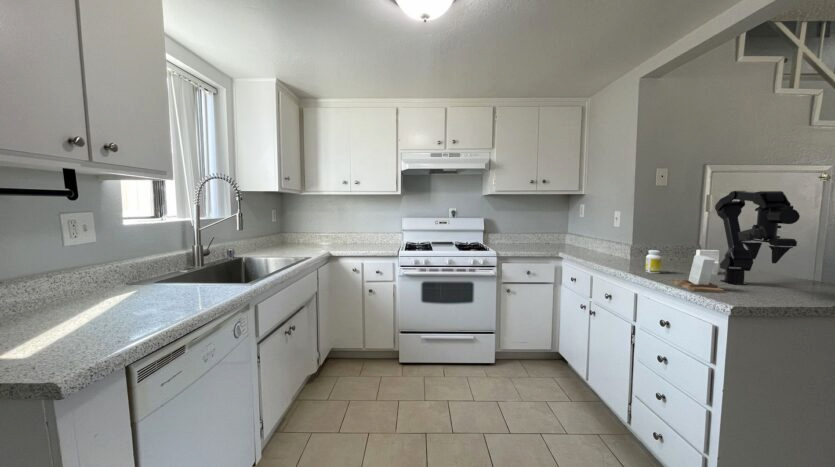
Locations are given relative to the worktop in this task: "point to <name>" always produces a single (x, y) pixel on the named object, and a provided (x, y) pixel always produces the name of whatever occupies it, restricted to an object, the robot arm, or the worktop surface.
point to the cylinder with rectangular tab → (713, 255)
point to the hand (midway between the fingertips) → (763, 261)
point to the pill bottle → (653, 262)
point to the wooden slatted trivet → (698, 286)
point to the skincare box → (701, 270)
